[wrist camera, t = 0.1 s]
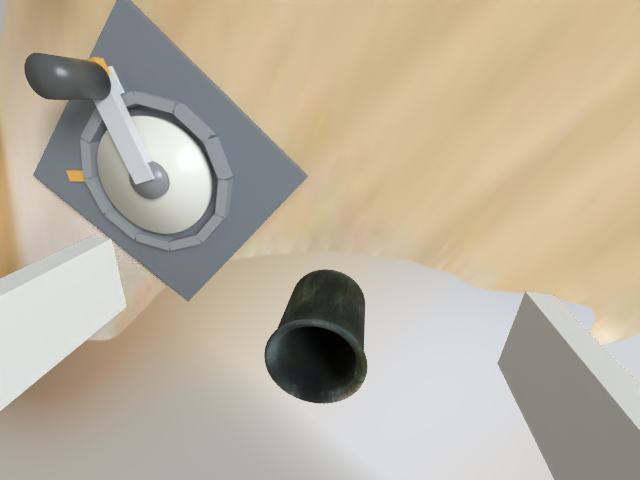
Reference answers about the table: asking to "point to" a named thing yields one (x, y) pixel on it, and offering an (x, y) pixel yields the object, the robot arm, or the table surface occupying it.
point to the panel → (196, 119)
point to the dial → (132, 148)
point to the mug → (320, 339)
